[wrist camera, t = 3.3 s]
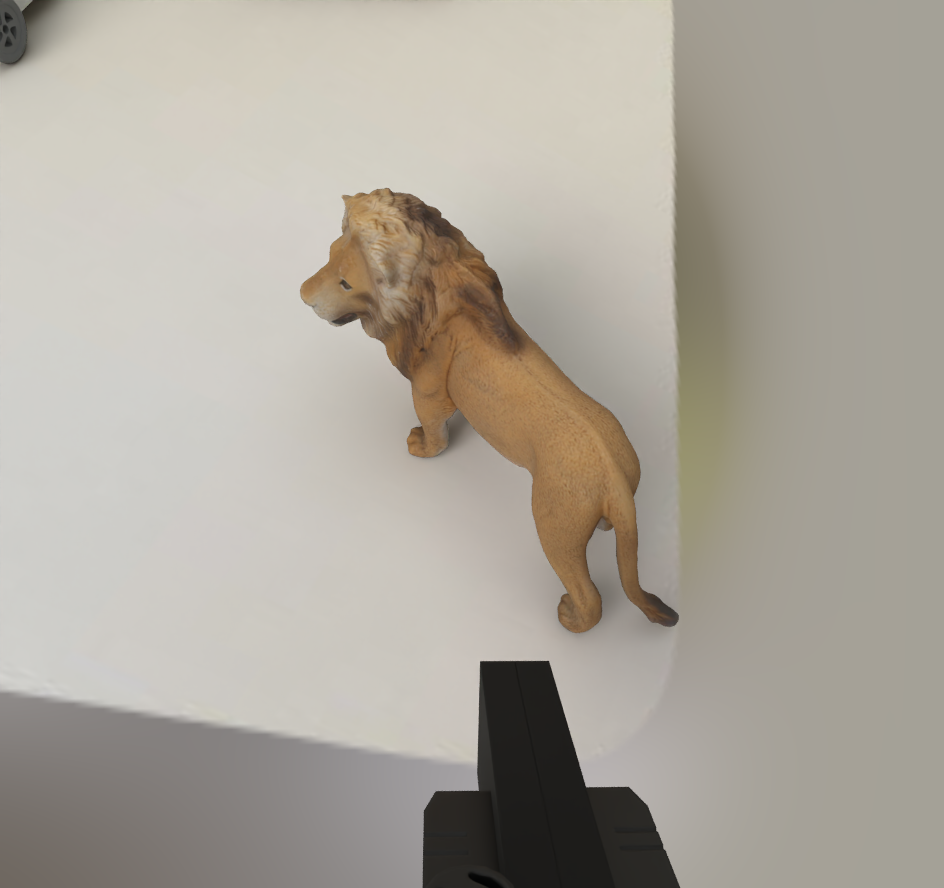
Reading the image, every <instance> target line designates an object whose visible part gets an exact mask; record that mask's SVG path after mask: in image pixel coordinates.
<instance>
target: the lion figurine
mask: <svg viewBox="0 0 944 888" xmlns="http://www.w3.org/2000/svg"><path fill="white" fill-rule="evenodd" d="M342 198H343V200H344V203H345V206H346V207H345V213H344V217H343V220H342V232H343V235H342V236H341V237H340V238H338V239H337V240H336V241H334V242H333V243H332V245H331V246H330V259H329V262H328V263H327V264H326V265H325V266H324V267H323V268H321V269H320V270H319V271H318V272H317V273H316V274H315V275H313V276H312V277H310V278H309V279H308V280H306V281H305V282H304V283H303V284H302V286H301V289H300V294H301V298H302V300H303V301H304V303H305V304H307V305H309V306H312V308H313V310H314V312H315V313H316V314H317V315H318V316H319V317H320V318H322V319H325V320H327V321H328V322H329V323H330V324H331V325H333V326H336V327H337V326H342V325H344V324H346V323H349V322H352V321H354V320H356V319H359V318H360V320H361V324H362V327H363V329H364V330H365V332H366V333H367V335H368V336H370V337H372V338H376V339H378V340H380V341H381V342H382V343H384V344H385V346H386V351H387V355H388V357H389V359H390V361H391V363H392V364H393V366H396V368H397V369H398V370H399V371H400V372H401V373H402V375H403V376H404V377H406V378H407V379H409V380H410V381H411V385H412V395H413V401H414V407H415V411H416V414H417V416H418V419H419V420H420V422H421V424H422V426H421V427H415V428H413V429H411V433H410V435H409V437H408V438H407V444H408V450H409V453H410V454H412V455H415V456H419V457H434V456H437V455H438V454H439V453H441V452H442V451H443V450H445V449H446V448H447V447H448V442H449V430H448V424H447V419H449V418H450V417H452V416H453V414H454V412H455V411H456V409H457V408H458V409H459V410H460V411H461V412H462V414H463V415H464V416H465V418H466V419H467V420H468V422H469V423H470V424H471V425H472V426H473V428H474V429H475V430H476V431H477V432H478V433H479V434H480V435H481V436H482V437H483V438H484V439H485V440H486V441H487V442H488V443H489V444H490V445H491V446H492V447H494V448H495V449H496V450H497V451H498V452H499V453H500V454H501V455H503V456H504V457H505V458H507V459H508V460H510V461H511V462H512V463H514V464H516V465H518V466H520V467H524V468H526V469H527V470H528V471H529V472H530V473H531V475H532V477H533V485H532V512H533V516H534V520H535V524H536V528H537V532H538V536H539V539H540V542H541V545H542V548H543V550H544V552H545V555H546V557H547V559H548V561H549V563H550V564H551V566H552V567H553V569H554V570H555V572H556V574H557V575H558V577H559V578H560V580H561V581H562V583H563V584H564V586H565V588H566V590H567V592H568V594H564V595H562V597H561V601H560V603H559V606H558V618H559V621H560V623H561V624H562V625H563V626H564V627H565V628H567V629H568V630H570V631H572V632H575V633H581V632H585V631H587V630H589V629H591V628H592V627H594V626H595V625H596V624H597V623H598V622H599V621H600V619H601V616H602V606H601V605H602V601H601V596H600V594H599V592H598V590H597V587H596V586H595V584H594V583H593V582H592V580H591V578H590V574H589V571H588V566H587V560H586V546H587V543H588V541H589V539H590V538H591V537H592V535H593V532H594V530H595V528H596V527H597V528H599V529H601V530H604V531H608V530H610V529H612V528H613V527H614V530H615V534H616V557H617V564H618V569H619V574H620V579H621V583H622V587H623V589H624V592H625V593H626V595H627V597H628V599H629V600H630V601H631V602H632V603H633V604H635V605H636V606H637V607H639V608H640V609H641V610H642V611H643V613H644V614H645V615H646V616H647V617H648V619H649V620H650V621H651V622H652V623H659V624H661V625H663V626H667V627H671V626H674V625H675V624H676V623H677V622H678V620H679V615H678V614H677V613H676V612H675V611H674V610H673V609H671V608H670V607H668V606H667V605H666V604H664V603H663V602H662V601H661V600H660V599H659V598H658V597H657V596H655V595H653V594H650V593H647V592H645V591H644V590H642V588H641V587H640V585H639V581H638V569H637V561H638V558H637V550H638V533H637V524H636V509H635V503H634V498H633V497H634V494H635V492H636V490H637V487H638V484H639V480H640V473H641V472H640V465H639V460H638V457H637V455H636V452H635V450H634V448H633V446H632V445H631V443H630V441H629V439H628V438H627V436H626V434H625V432H624V430H623V428H622V426H621V424H620V423H619V421H618V420H617V419H616V418H615V416H614V415H613V414H612V413H611V412H610V411H609V410H608V409H606V408H605V407H603V406H602V405H601V404H599V403H598V402H596V401H595V400H593V399H592V398H591V397H589V396H588V395H587V394H585V393H584V392H583V391H581V390H580V389H579V388H578V387H577V386H576V385H575V384H573V382H572V381H571V380H570V379H569V378H568V377H567V376H566V375H565V374H564V373H563V372H562V371H561V370H560V369H559V367H558V366H557V365H556V364H555V363H554V362H553V361H552V360H551V359H550V357H549V356H548V355H547V354H546V353H545V352H544V351H543V350H542V349H541V348H540V347H539V346H538V345H537V344H536V343H535V342H534V341H533V340H532V339H531V338H530V337H529V336H528V335H527V333H526V332H525V331H524V330H523V329H522V328H521V327H520V326H519V325H518V324H517V323H516V322H515V320H514V319H513V317H512V315H511V314H510V312H509V310H508V307H507V306H506V304H505V302H504V300H503V293H502V290H503V289H502V286H501V284H500V281H499V279H498V277H497V274H496V272H495V271H494V270H493V269H492V268H490V267H489V266H488V265H487V263H486V262H485V260H484V255H483V253H481V252H480V251H478V250H477V249H476V248H474V246H473V245H472V244H471V243H470V242H469V241H467V239H466V237H465V236H464V235H463V233H462V231H460V230H459V229H457V228H456V227H454V226H452V225H451V224H450V223H449V222H448V221H447V220H446V219H444V218H441V212H440V211H439V210H438V209H436V208H434V207H431V206H427V205H426V204H425V203H424V202H423V201H421V200H420V199H419V198H417V197H415V196H413V195H411V194H404V193H394V192H392V191H391V190H390V189H389V188H385V189H377V190H374V191H372V192H371V193H370V194H365V193H358V194H356V195H354V196H353V197H352V196H348V195H342Z"/></svg>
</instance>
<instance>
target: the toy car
mask: <svg viewBox="0 0 944 888" xmlns="http://www.w3.org/2000/svg"><path fill="white" fill-rule="evenodd" d="M31 2H32V0H0V62H3V63H13V62H15V61H17V60H18V59H19V58H20V57H21V56H22V54H23V52H24V50H25V47H26V41H27V29H26V24H25V20H24V17H23V14H22V11H23V10H24V9H25V8H26V7H27V6H28V5H29V4H30V3H31Z"/></svg>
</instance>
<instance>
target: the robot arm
mask: <svg viewBox="0 0 944 888" xmlns="http://www.w3.org/2000/svg"><path fill="white" fill-rule="evenodd" d="M477 774H478V785H479V791H436V792H435V793H434V795H433V797H432V798H431V800H430V802H429V803H428V805H427V807H426V808H425V810H424V838H423V841H424V842H423V888H680V886H679V884H678V881H677V879H676V876H675V874H674V871H673V869H672V866H671V864H670V861H669V858H668V856H667V853H666V851H665V850H664V849H663V843H662V841H661V838H660V836H659V834H658V832H657V831H656V826H655V823H654V821H653V818H652V816H651V813H650V811H649V808H648V806H647V805H646V804H645V803H644V802H643V801H642V800H641V799H640V798H639V797H638V796H637V795H636V794H635V793H634V792H633V791H632V790H631V789H630V788H629V787H589V788H588V787H586V786H585V782H584V779H583V775H582V772H581V769H580V765H579V762H578V758H577V755H576V752H575V748H574V745H573V741H572V738H571V735H570V731H569V728H568V724H567V721H566V718H565V714H564V711H563V707H562V704H561V701H560V697H559V694H558V690H557V687H556V684H555V680H554V677H553V673H552V670H551V667H550V663H549V661H480V690H479V729H478V768H477Z"/></svg>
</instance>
